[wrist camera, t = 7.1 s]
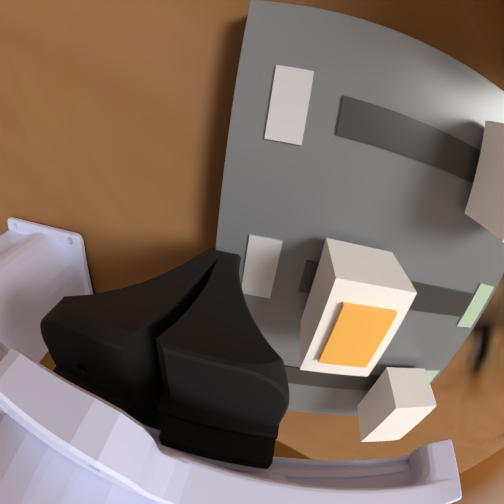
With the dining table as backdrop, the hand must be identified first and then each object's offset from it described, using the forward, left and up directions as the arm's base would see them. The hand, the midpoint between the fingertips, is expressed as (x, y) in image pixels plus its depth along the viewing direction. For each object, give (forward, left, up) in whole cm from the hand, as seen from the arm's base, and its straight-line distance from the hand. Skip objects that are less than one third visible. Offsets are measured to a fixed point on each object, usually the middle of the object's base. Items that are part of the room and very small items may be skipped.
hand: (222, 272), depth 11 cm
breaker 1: (+11, -7, -1) cm, 13 cm away
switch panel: (+7, 0, -2) cm, 8 cm away
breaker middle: (+5, 0, 0) cm, 5 cm away
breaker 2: (+11, +7, -1) cm, 13 cm away
